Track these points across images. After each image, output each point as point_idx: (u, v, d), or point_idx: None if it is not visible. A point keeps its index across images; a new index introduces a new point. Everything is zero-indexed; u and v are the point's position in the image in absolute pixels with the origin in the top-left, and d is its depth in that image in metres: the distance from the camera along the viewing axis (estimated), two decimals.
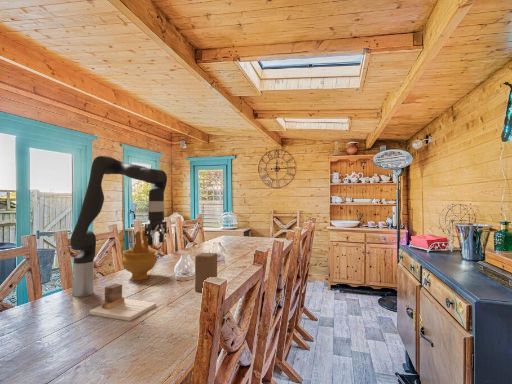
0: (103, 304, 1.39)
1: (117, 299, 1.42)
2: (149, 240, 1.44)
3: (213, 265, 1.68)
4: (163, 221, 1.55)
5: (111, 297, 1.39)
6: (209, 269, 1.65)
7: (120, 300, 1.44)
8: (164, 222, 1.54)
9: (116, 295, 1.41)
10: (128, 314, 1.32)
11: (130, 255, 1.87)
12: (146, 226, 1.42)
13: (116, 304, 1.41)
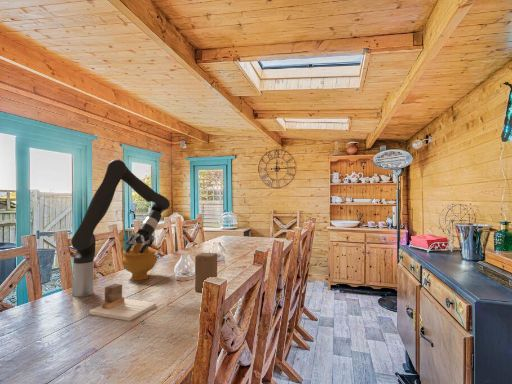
0: (103, 304, 1.39)
1: (117, 299, 1.42)
2: (144, 249, 1.55)
3: (213, 265, 1.68)
4: (133, 235, 1.64)
5: (111, 297, 1.39)
6: (209, 269, 1.65)
7: (120, 300, 1.44)
8: None
9: (116, 295, 1.41)
10: (128, 314, 1.32)
11: (130, 255, 1.87)
12: (152, 238, 1.59)
13: (116, 304, 1.41)
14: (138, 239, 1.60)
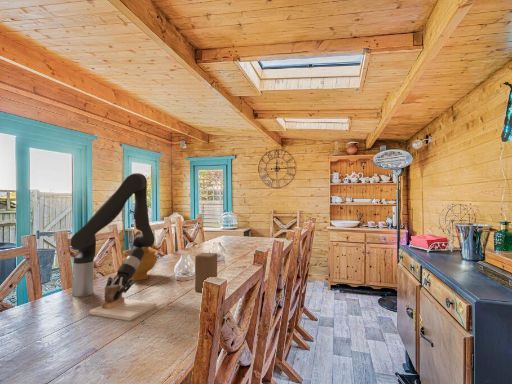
0: (103, 304, 1.39)
1: None
2: (119, 295, 1.41)
3: (213, 265, 1.68)
4: (111, 278, 1.49)
5: (111, 297, 1.39)
6: (209, 269, 1.65)
7: (120, 300, 1.44)
8: None
9: None
10: (128, 314, 1.32)
11: None
12: (130, 283, 1.44)
13: (116, 304, 1.41)
14: (118, 281, 1.46)
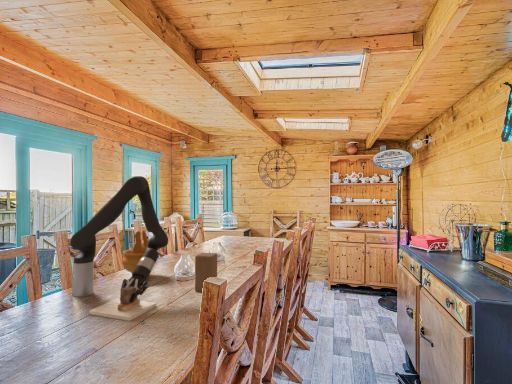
0: (119, 306, 1.36)
1: None
2: (135, 297, 1.39)
3: (213, 265, 1.68)
4: (126, 280, 1.47)
5: (127, 299, 1.36)
6: (209, 269, 1.65)
7: (136, 302, 1.41)
8: None
9: None
10: (128, 314, 1.32)
11: (130, 255, 1.87)
12: (146, 285, 1.42)
13: (132, 306, 1.39)
14: (134, 283, 1.43)
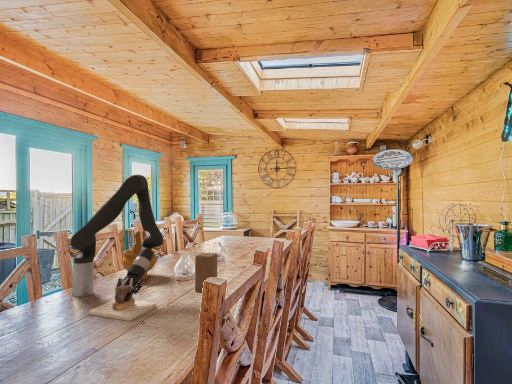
0: (114, 305, 1.37)
1: None
2: (129, 296, 1.40)
3: (213, 265, 1.68)
4: (121, 279, 1.48)
5: (122, 298, 1.38)
6: (209, 269, 1.65)
7: (130, 301, 1.42)
8: None
9: None
10: (128, 314, 1.32)
11: (130, 255, 1.87)
12: (141, 284, 1.43)
13: (127, 305, 1.40)
14: (129, 282, 1.44)
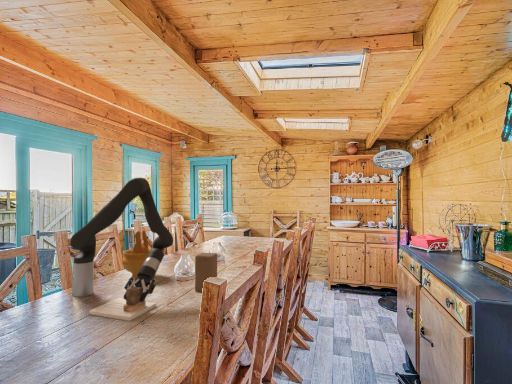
0: (125, 307, 1.35)
1: (139, 302, 1.38)
2: (145, 296, 1.38)
3: (213, 265, 1.68)
4: None
5: (133, 300, 1.36)
6: (209, 269, 1.65)
7: (141, 303, 1.40)
8: None
9: (138, 298, 1.38)
10: (128, 314, 1.32)
11: (130, 255, 1.87)
12: (154, 283, 1.41)
13: (138, 307, 1.38)
14: (138, 284, 1.42)
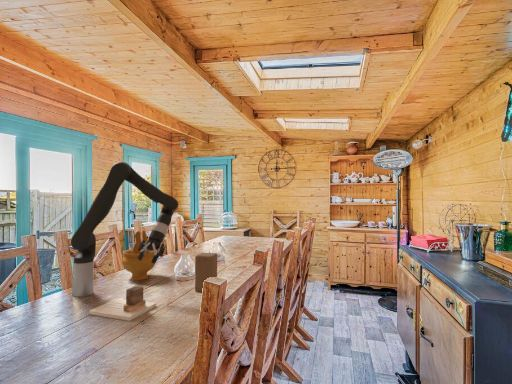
0: (125, 307, 1.35)
1: (139, 302, 1.38)
2: (156, 259, 1.55)
3: (213, 265, 1.68)
4: None
5: (133, 300, 1.36)
6: (209, 269, 1.65)
7: (141, 303, 1.40)
8: None
9: (138, 298, 1.38)
10: (128, 314, 1.32)
11: (130, 255, 1.87)
12: (163, 246, 1.57)
13: (138, 307, 1.38)
14: (149, 247, 1.58)
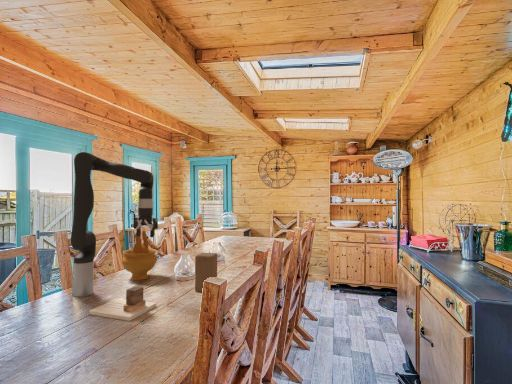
0: (125, 307, 1.35)
1: (139, 302, 1.38)
2: (153, 232, 1.66)
3: (213, 265, 1.68)
4: (136, 217, 1.69)
5: (133, 300, 1.36)
6: (209, 269, 1.65)
7: (141, 303, 1.40)
8: (137, 218, 1.70)
9: (138, 298, 1.38)
10: (128, 314, 1.32)
11: (130, 255, 1.87)
12: (155, 220, 1.65)
13: (138, 307, 1.38)
14: (143, 223, 1.66)
